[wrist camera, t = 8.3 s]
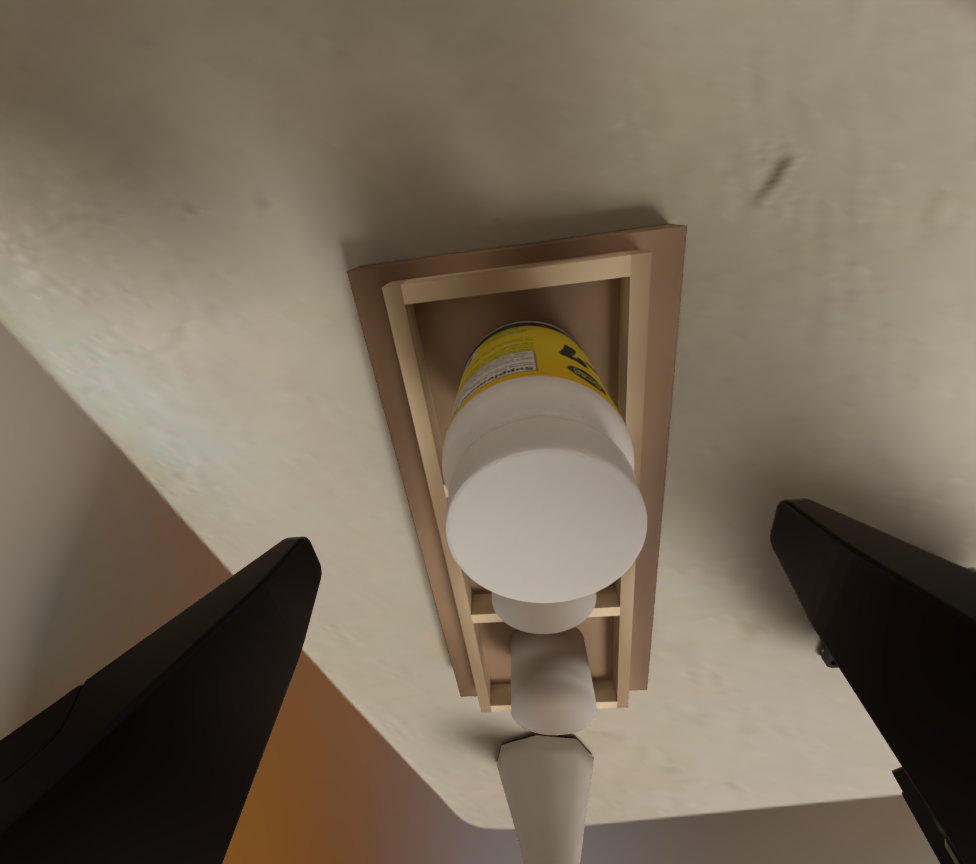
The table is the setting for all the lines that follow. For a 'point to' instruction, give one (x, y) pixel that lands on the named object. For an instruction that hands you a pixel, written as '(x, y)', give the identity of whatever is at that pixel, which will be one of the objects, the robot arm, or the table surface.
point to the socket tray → (425, 419)
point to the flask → (547, 796)
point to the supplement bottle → (539, 470)
